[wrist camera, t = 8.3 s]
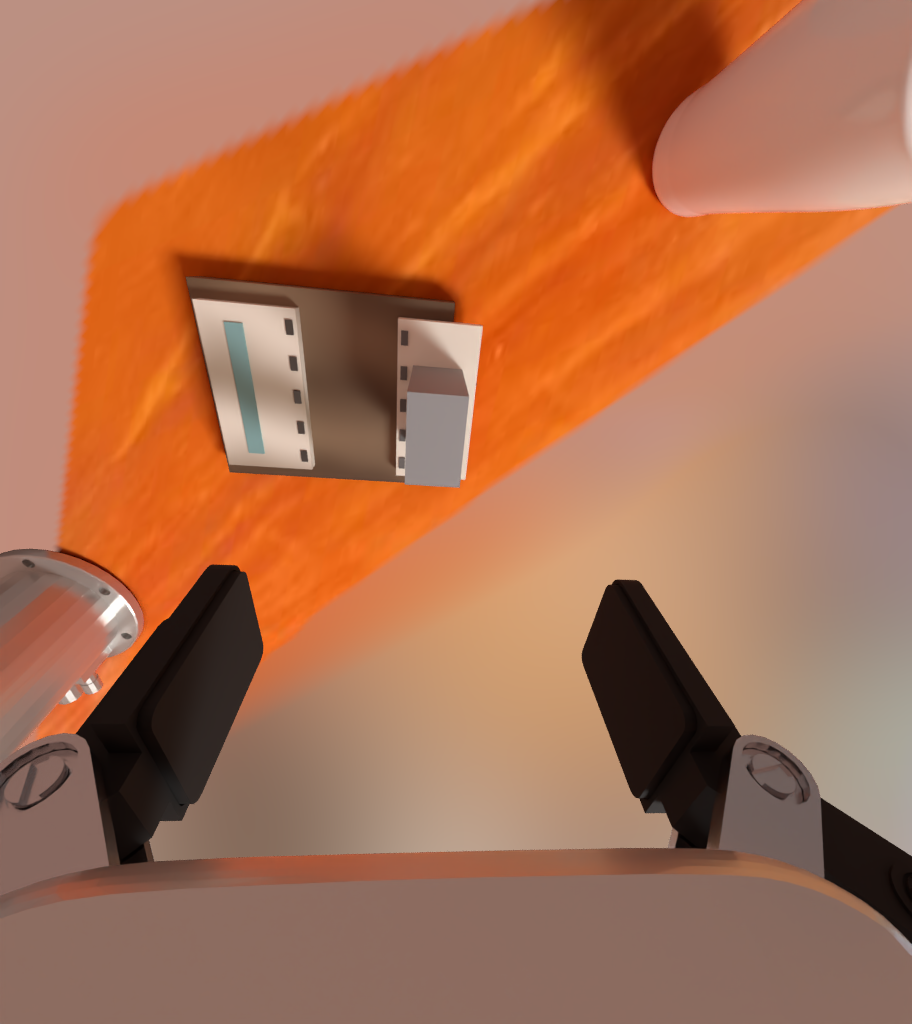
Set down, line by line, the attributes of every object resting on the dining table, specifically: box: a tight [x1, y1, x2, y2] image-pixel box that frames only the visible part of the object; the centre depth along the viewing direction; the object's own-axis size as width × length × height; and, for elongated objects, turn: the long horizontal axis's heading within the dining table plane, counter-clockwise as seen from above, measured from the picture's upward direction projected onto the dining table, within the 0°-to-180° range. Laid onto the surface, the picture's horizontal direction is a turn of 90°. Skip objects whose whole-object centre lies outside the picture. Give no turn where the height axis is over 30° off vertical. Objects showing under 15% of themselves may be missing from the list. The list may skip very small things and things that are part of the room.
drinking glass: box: [652, 0, 912, 217], centre depth 15 cm, size 7×7×15 cm
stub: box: [396, 317, 483, 488], centre depth 23 cm, size 10×5×7 cm, turn 175°
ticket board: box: [186, 276, 455, 483], centre depth 26 cm, size 12×15×2 cm
